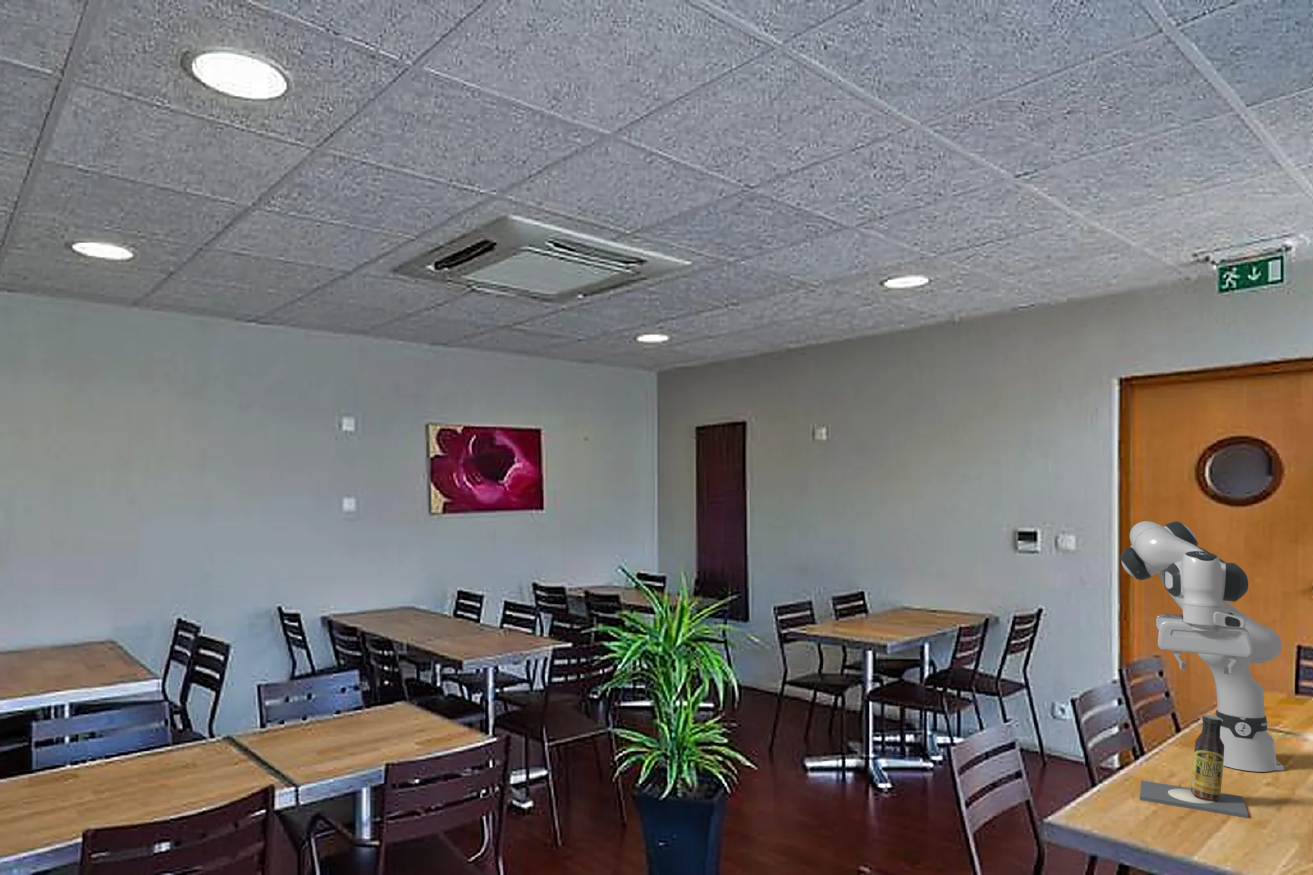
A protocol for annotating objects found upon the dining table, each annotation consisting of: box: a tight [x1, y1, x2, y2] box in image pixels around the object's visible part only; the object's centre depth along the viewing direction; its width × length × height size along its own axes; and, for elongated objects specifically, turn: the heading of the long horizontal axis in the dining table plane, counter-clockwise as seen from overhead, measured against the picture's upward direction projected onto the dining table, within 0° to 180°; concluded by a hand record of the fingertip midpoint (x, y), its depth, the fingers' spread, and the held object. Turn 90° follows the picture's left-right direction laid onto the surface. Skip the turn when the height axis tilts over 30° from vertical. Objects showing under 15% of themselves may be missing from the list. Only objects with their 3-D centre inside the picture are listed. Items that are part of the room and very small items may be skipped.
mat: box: [1139, 779, 1249, 819], centre depth 207 cm, size 14×22×1 cm, turn 59°
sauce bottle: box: [1190, 714, 1224, 801], centre depth 206 cm, size 6×6×20 cm
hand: (1204, 671), depth 209 cm, fingers open, 8 cm apart
